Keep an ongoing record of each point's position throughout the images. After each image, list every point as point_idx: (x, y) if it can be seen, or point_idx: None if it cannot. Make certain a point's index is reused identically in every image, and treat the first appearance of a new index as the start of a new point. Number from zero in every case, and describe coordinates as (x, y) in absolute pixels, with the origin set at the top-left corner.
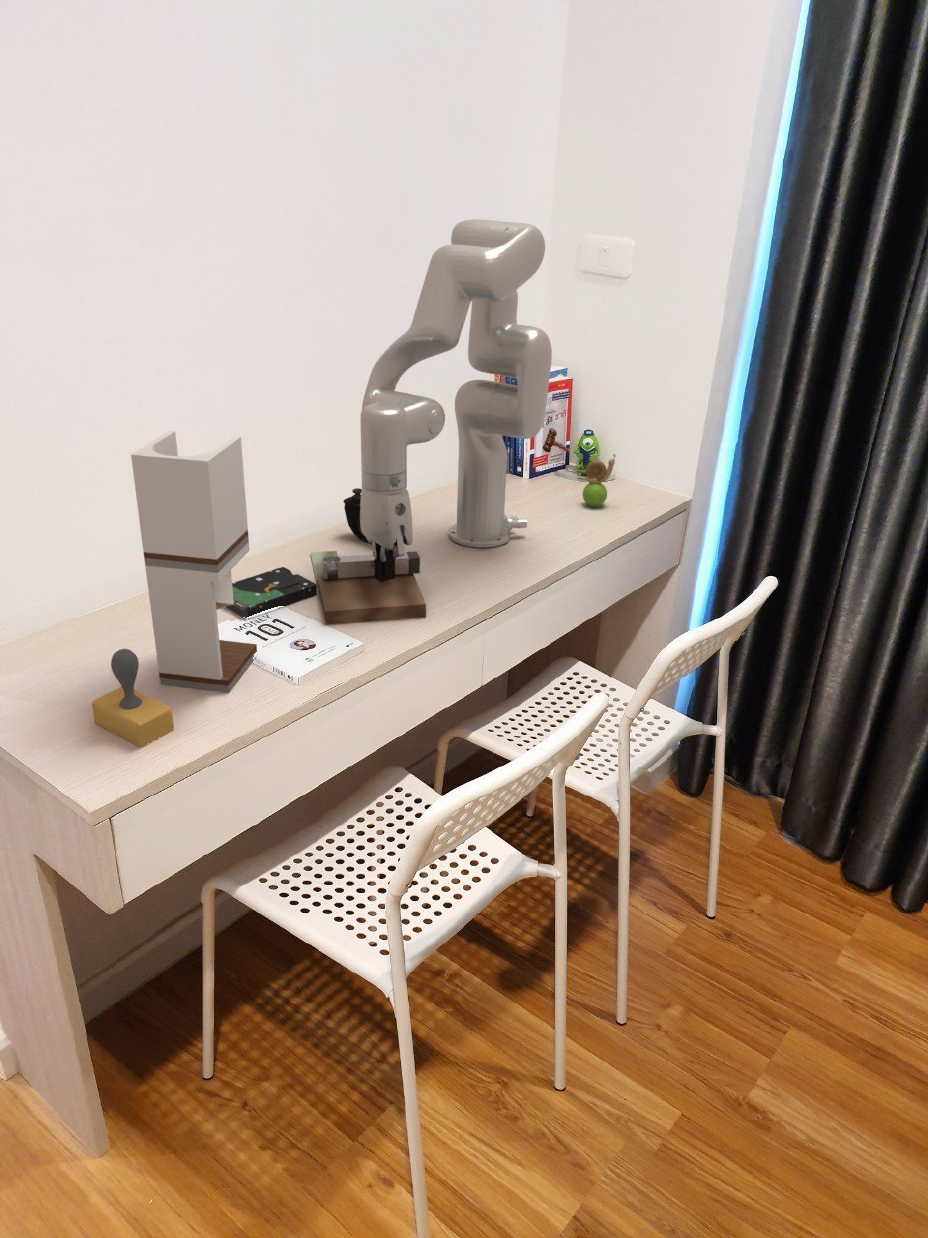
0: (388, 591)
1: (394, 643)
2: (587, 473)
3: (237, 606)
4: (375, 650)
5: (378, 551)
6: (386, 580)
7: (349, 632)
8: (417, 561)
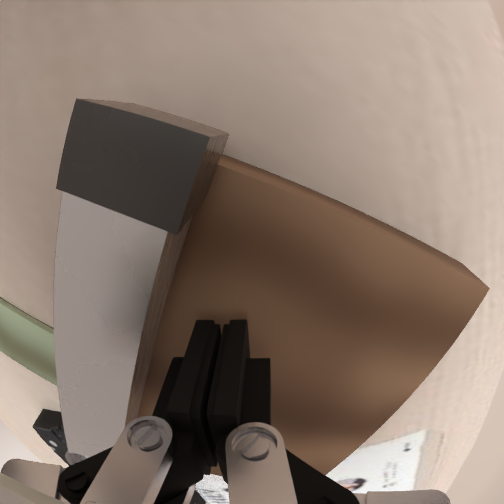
0: (310, 359)
1: (474, 386)
2: None
3: None
4: (458, 419)
5: (185, 497)
6: (249, 357)
7: (369, 441)
8: (208, 156)
